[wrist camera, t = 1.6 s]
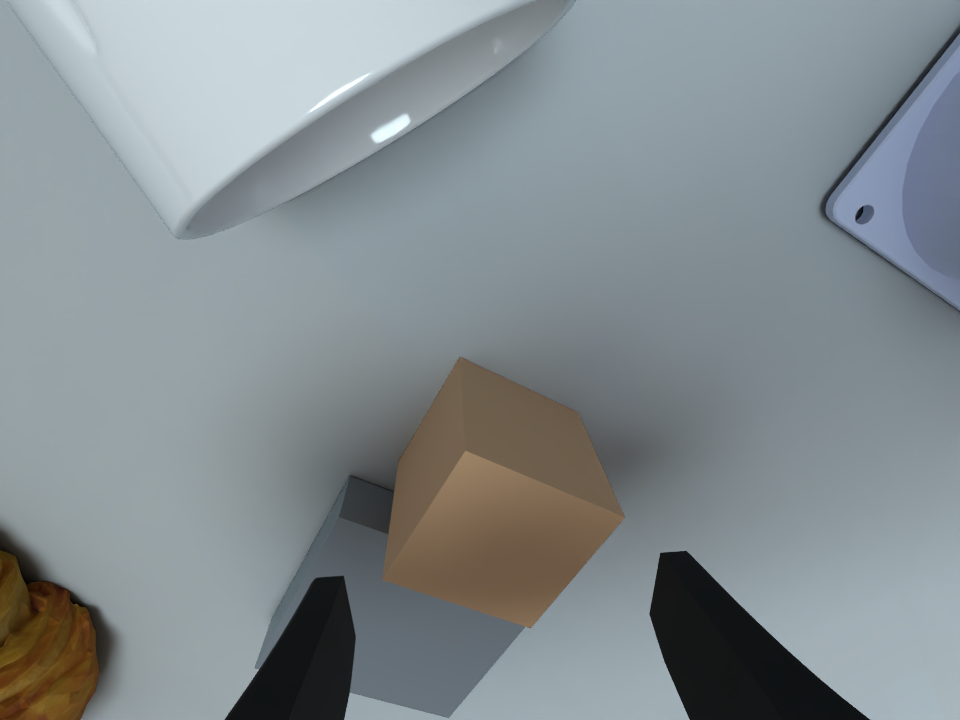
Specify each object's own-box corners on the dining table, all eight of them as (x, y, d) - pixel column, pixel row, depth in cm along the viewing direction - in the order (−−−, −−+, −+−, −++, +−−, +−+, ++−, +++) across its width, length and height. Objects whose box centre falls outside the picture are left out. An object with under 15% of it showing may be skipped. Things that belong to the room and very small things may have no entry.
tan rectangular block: (577, 411, 17) (625, 517, 12) (509, 504, 19) (530, 628, 14) (459, 355, 16) (465, 450, 11) (398, 460, 17) (382, 580, 13)
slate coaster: (544, 548, 20) (553, 592, 18) (448, 669, 22) (448, 718, 21) (350, 475, 17) (338, 516, 16) (271, 619, 20) (254, 668, 18)
